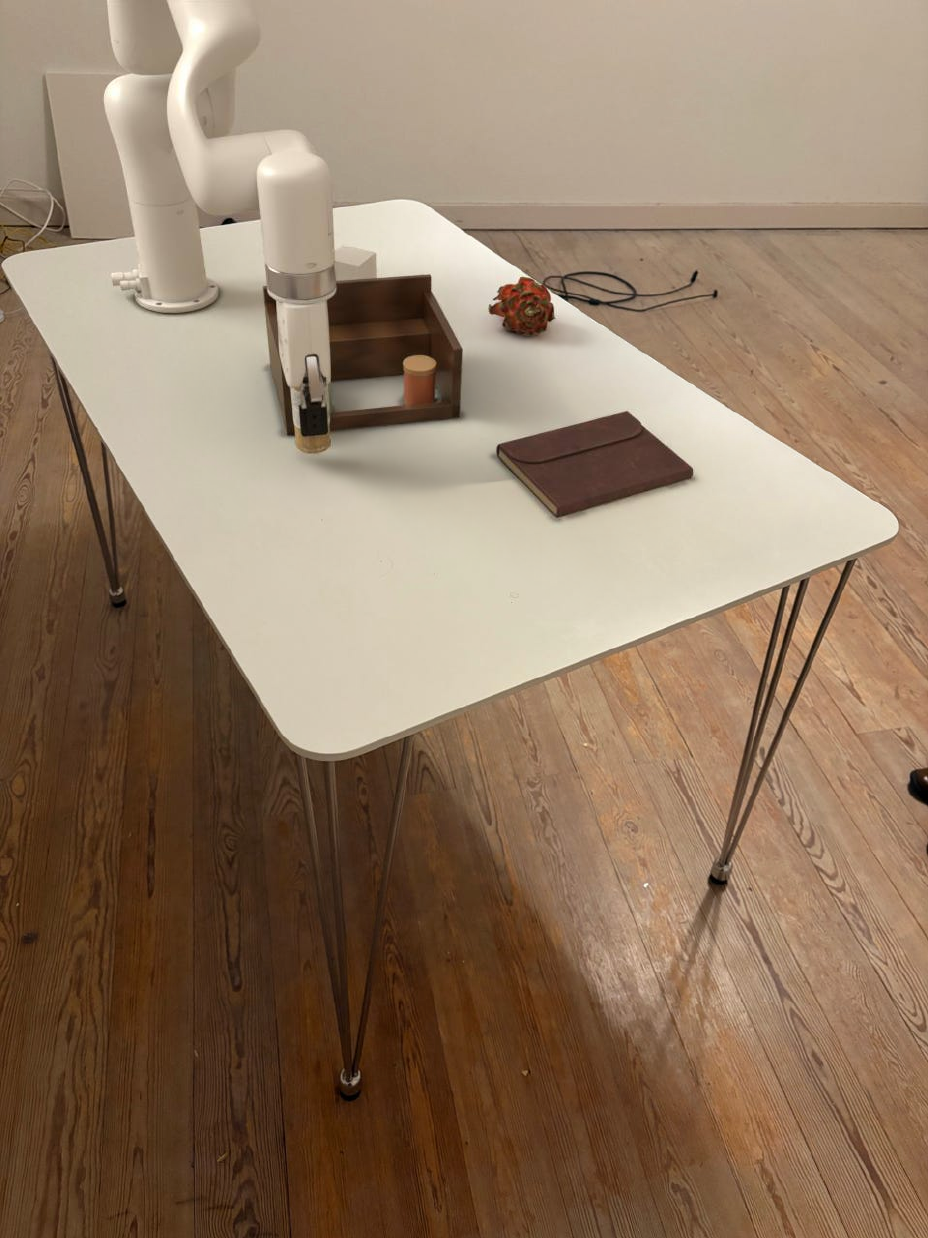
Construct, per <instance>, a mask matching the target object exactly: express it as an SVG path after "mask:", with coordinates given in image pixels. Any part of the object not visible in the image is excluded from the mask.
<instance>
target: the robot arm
mask: <svg viewBox="0 0 928 1238" xmlns="http://www.w3.org/2000/svg"><path fill="white" fill-rule="evenodd" d="M252 3H253V2H252V0H106V5H107V16H108V17H107V18H108V27H109V36H110V43H111V48H112V52H113V54H114V57H115V59H116V62H117V63H118V65H119V66H121V67H120V68H122V69H123V70H124V71H125V72H128V73H127V74H123V75H120V76H118V77H116V78H114V79H113V80H111V81H110V82H109V83H108V85H106V88H105V90H104V93H103V106H104V112H105V115H106V120H107V122H108V125H109V128H110V131H111V134H112V137H113V140H114V143H115V146H116V149H117V153H118V156H119V161H120V164H121V169H122V174H123V179H124V184H125V189H126V195H127V200H128V205H129V210H130V211H129V212H130V217H131V223H132V227H133V233H134V234H133V235H134V240H135V244H136V251H137V255H138V256H137V257H138V263H137V265H138V268H135V269H132V271H114V272H111V273H110V275H111V283H112V285H113V287H114V286H116V287H117V286H120V290H121V291H131V290H134V297H135V301H136V303H137V304H138V305H140V306H141V307H142V308H144V309H146V310H150V311H152V312H157V313H164V314H181V313H189V312H194V311H198V310H201V309H203V308H205V307H207V306H210V305H211V304H213V303H214V302H215V301H216V300H217V298H218V296H219V287H218V284H217V283H216V281H214V280H213V279H212V278H210V277H209V276H207V272H206V265H205V259H204V250H203V242H202V236H201V229H200V222H199V221H200V220H199V215H198V209H197V208H199V209H200V210H202V211H203V212H205V213H206V214H209V215H211V216H216V217H223V216H231V215H237V214H243V213H249V212H254V211H259V216H260V217H259V218H260V227H261V228H260V229H261V238H262V249H263V259H264V269H265V279H266V281H265V282H266V286H267V291H268V294H269V295H270V296H271V297H272V298H273V299H275V300H276V307H277V322H278V338H279V354H280V359H281V363H282V367H283V371H284V375H285V378H286V382H287V384H288V386H289V387H291V388H292V389H294V387H299V390H300V400H301V405H299V417H300V430H301V435H302V436H303V437H307V436H316V435H325V434H327V433H328V419H327V404H326V403H325V392H324V383H325V385H328V384H329V382H330V380H331V365H330V340H329V323H328V308H327V299H329V298H331V297H332V296H333V295H334V294H335V293H336V268H335V250H336V249H335V230H334V229H335V227H334V207H333V206H334V205H333V187H332V186H333V184H332V173H331V169H330V167H329V165H328V163H327V162H326V161H325V160H324V159H323V158H322V157H321V156H319V155H317V152H316V149H315V147H314V145H313V144H312V143H311V142H310V141H309V139H308V138H307V137H306V136H305V134H303V133H302V132H301V131H298V130H295V129H290V128H289V129H286V128H285V129H275V130H267V131H259V132H255V131H254V132H248V133H240V134H234V135H230V134H231V132H232V131H233V129H234V128H233V126H234V124H235V113H236V112H235V111H236V74H237V73H236V69H237V67H240V66H241V65H242V64H243V63H244V62H245V61H247V60H248V59H249V58H250V57H251V56H252V55H253V54H254V53H255V51H256V50H257V48H258V46H259V44H260V41H261V36H262V35H261V33H262V32H261V26H260V22H259V20H258V17H257V15H256V12H255V9H254V6H253V4H252ZM172 149H173V150H174V152H175V155H176V156H175V155H173V154H172ZM197 206H198V207H197ZM305 362H306V365H305ZM304 377H308V380H303V378H304ZM305 388H309V393H307V394H306V396H305Z"/></svg>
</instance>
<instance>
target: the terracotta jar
mask: <svg viewBox="0 0 928 1238" xmlns="http://www.w3.org/2000/svg"><path fill="white" fill-rule="evenodd" d="M403 369H404V374H403V405H412V404H422V403H432V402H436V384H435V371H436V361H435V360H434V359H433V358H431V357H429V356H425V355H413V356H410V357H407V358H406V359H405V360H404V361H403Z"/></svg>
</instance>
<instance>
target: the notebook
mask: <svg viewBox="0 0 928 1238" xmlns="http://www.w3.org/2000/svg"><path fill="white" fill-rule="evenodd" d="M495 450H496V451H495V452H496V457H497V459H498V460H500V462H502V464H504V465H505V467H507V469H508V470H509V471H510V472H511V473H512V474H513V475H514V476H515V477H516V478H517V479H518V481H520V482H521V483H522V485H523V486H525V487H526V488H527V489H528V491H530V493H531V494H533V496H534V497H535V498H536V499H537V500H538V501H539V502H540V503H541V504H542V505H543V506H544V507H545V508H546V509H547V510H548V512H550V513H551V515H552V516H554V517H555V518H556V519H559V518H563V517H565V516H569V515H572V514H576V513H579V512H582V511H586V510H589V509H592V508H596V507H600V506H602V505H606V504H609V503H613V502H617V501H619V500H623V499H626V498H630V497H634V496H637V495H640V494H643V493H646V492H650V491H655V490H657V489H660V488H664V487H667V486H669V485H673V484H678V483H680V482H684V481H688V480H691V479H692V478H693V477H694V468H693V467H692V466H691V465H690V464H689V463H687V462H686V460H684V459H683V458H682V457H680V456H679V455H678V453H676V452H675V451H673V450H672V449H671V448H670V447H669V446H668V445H666V444H665V443H664V442H663V441H662V440H661V439H660V438H658V437H657V436H656V435H655V434H654V433H652V432H651V431H650V430H648V429H647V428H646V427H645V426H644V425H643V424H642V423H641V421H640V420H639V419H638V418H637V417H636V416H635V415H633V414H632V413H631V412H630V411H628V410H625V411H622V412H621V411H620V412H618V413H613V414H609V415H606V416H602V417H598V418H594V419H590V420H586V421H582V422H578V423H574V424H571V425H568V426H562V427H559V428H556V429H551V430H547V431H544V432H539V433H536V434H532V435H528V436H524V437H519V438H516V439H513V440H509V441H505V442H501V443H497V445H496V448H495Z"/></svg>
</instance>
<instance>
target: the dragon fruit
mask: <svg viewBox="0 0 928 1238" xmlns="http://www.w3.org/2000/svg"><path fill="white" fill-rule="evenodd" d="M496 293H498V294H497V295H496V296H495V297H493V298H492V301H496V300H497V301H498V302H495V303H494V304H493V305H492V303H490V304H488V309H487V311H488V313H489V315H491V316H498V317H501V318H503V320H502V324H501V326H502V327H503V329H505V330H506V331H508V332H511V331H516V332H517V334H519V335H522V336H526V337H531V336H532V335H534V334H537V335H540V334H543V333H545V332H546V331H547V328H548V325H549V323H551V322H553V321H554V320H556V316H555V307H554V304H553V302H552V296H551V293H550V291H549V290H548V288H547V287H546V286H545V285H544V284H540V283H539V282H538V281H536V280H534V279H533V278H532V277H527V276H520V277H519V279H518V281H517V283H515V284H513V283H507V284H505V285H501V286H499V287H498V290H496Z"/></svg>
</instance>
